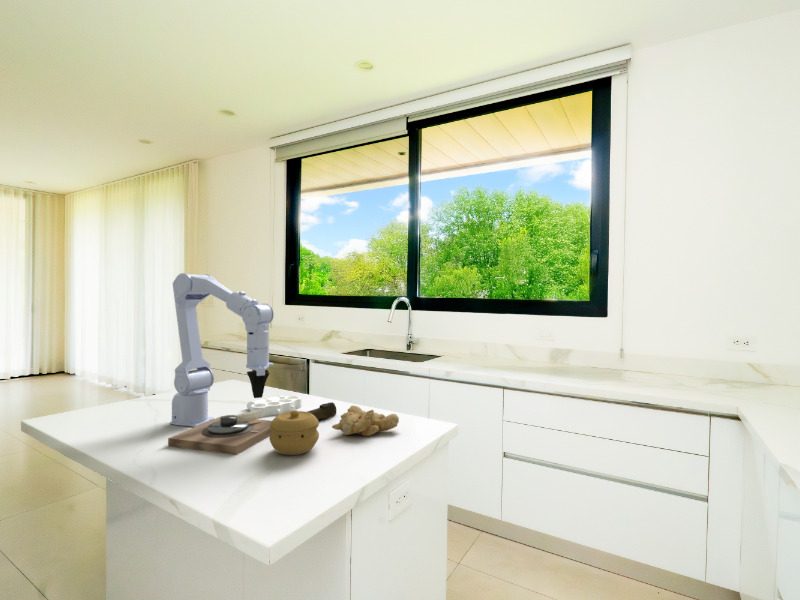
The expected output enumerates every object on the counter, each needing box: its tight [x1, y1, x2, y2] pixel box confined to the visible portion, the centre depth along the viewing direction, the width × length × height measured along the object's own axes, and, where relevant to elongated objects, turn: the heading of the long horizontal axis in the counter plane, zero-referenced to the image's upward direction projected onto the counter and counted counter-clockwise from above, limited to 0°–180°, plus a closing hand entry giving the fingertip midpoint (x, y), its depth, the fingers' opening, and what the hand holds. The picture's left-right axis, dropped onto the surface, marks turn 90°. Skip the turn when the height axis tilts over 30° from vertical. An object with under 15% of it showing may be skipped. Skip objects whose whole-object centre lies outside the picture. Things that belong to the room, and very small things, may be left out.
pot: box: [268, 409, 320, 456], centre depth 102 cm, size 12×12×10 cm
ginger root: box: [331, 405, 400, 437], centre depth 117 cm, size 16×16×8 cm
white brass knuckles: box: [246, 395, 303, 418], centre depth 139 cm, size 3×18×15 cm
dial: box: [208, 410, 262, 435], centre depth 113 cm, size 14×10×3 cm
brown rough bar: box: [306, 401, 337, 421], centre depth 125 cm, size 19×4×5 cm, turn 139°
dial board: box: [167, 415, 272, 456], centre depth 112 cm, size 20×20×2 cm
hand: (257, 397), depth 115 cm, fingers closed
